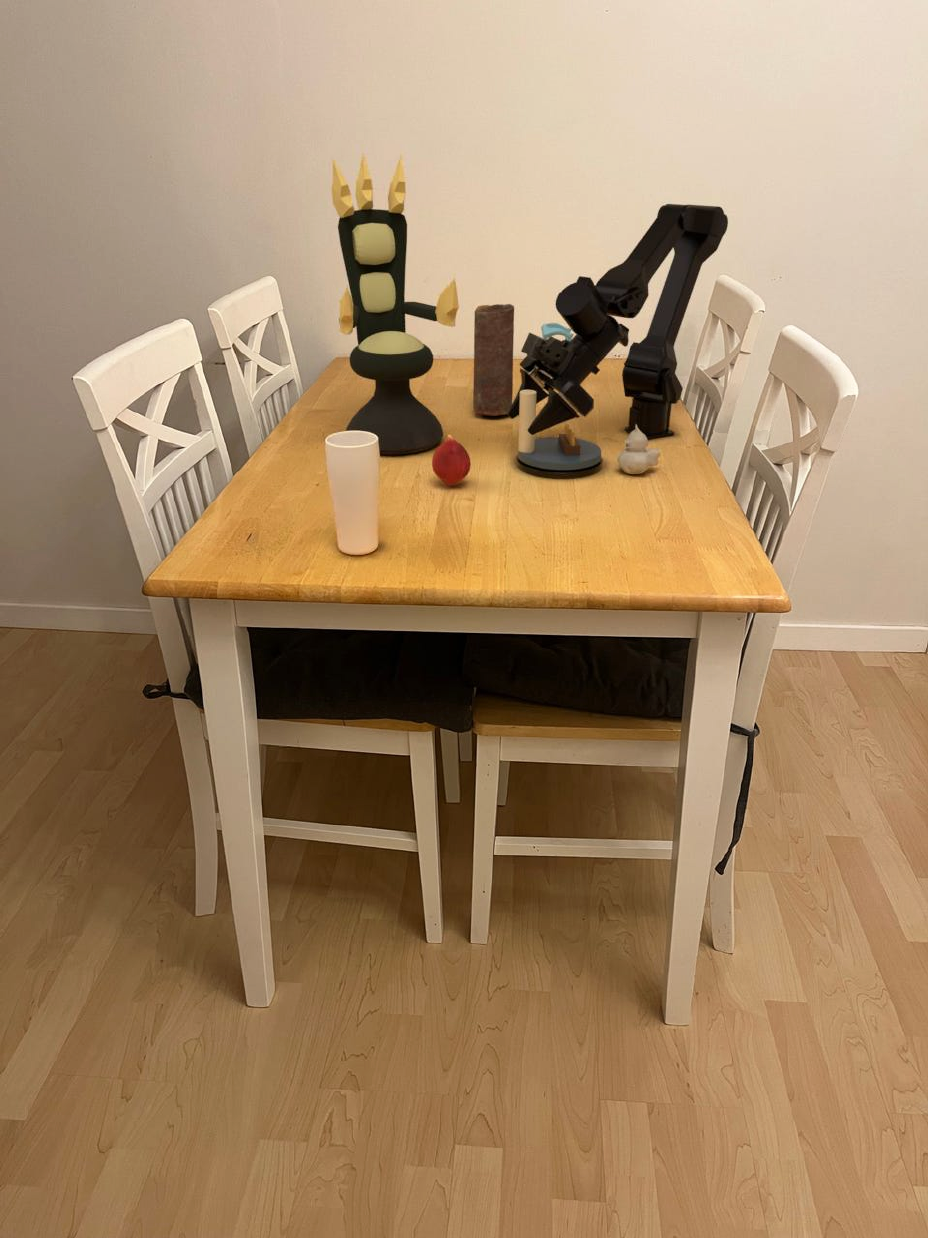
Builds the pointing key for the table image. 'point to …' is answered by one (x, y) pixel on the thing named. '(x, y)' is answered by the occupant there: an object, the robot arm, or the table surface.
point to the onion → (451, 462)
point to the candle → (493, 359)
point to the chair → (556, 331)
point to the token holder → (552, 443)
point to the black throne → (385, 314)
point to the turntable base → (558, 471)
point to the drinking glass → (354, 489)
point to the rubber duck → (637, 454)
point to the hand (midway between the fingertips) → (519, 424)
